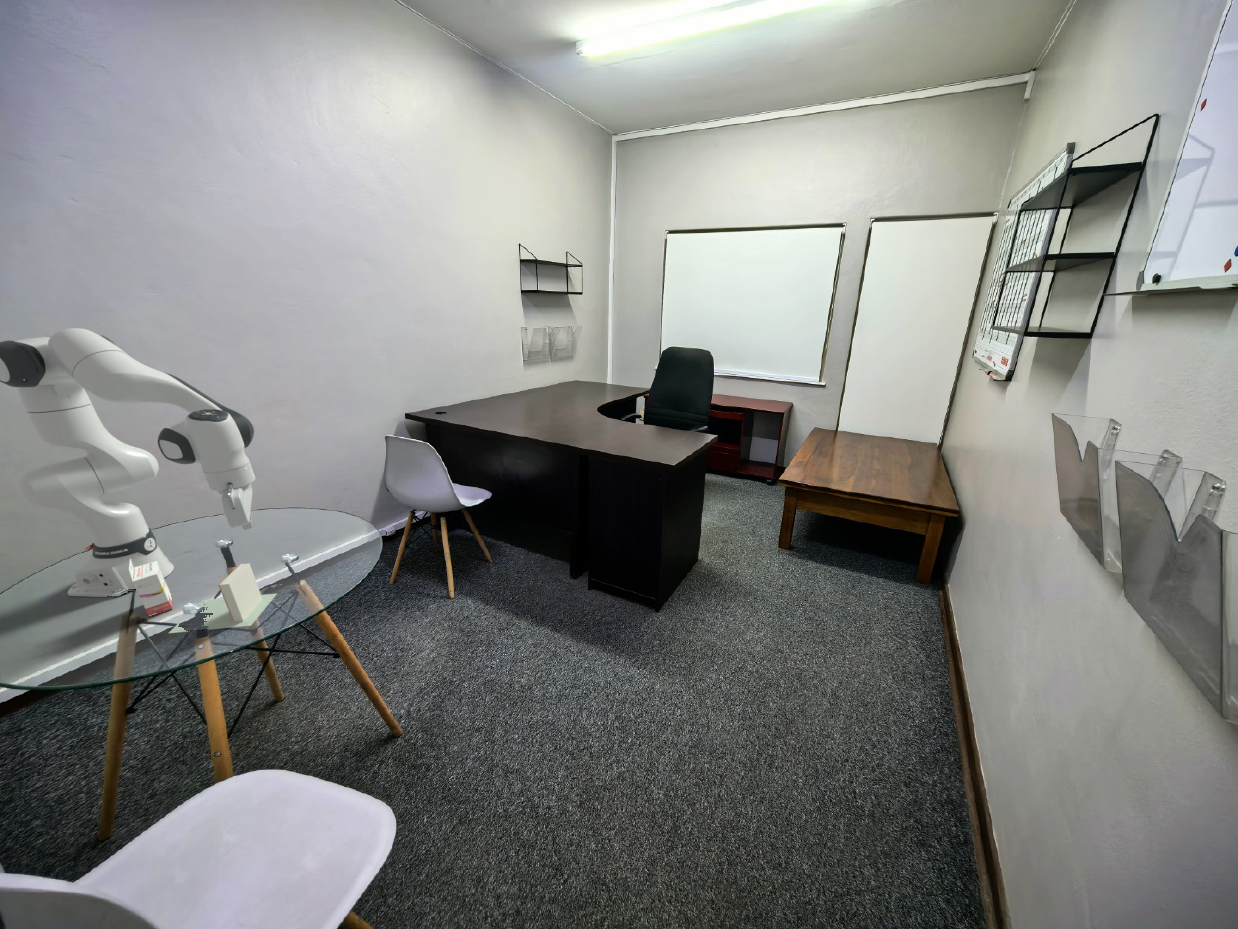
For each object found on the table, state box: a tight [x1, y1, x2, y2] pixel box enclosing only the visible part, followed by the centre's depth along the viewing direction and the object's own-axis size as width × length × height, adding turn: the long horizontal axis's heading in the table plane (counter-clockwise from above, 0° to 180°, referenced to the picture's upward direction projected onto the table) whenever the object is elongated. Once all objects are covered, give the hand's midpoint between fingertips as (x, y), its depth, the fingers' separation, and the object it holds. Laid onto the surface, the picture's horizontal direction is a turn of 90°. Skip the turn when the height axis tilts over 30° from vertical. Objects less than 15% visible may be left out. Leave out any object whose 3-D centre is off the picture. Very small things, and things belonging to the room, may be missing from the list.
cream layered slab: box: [218, 563, 262, 622], centre depth 121 cm, size 2×9×12 cm, turn 9°
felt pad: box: [168, 593, 278, 634], centre depth 122 cm, size 19×13×1 cm
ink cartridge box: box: [129, 559, 173, 616], centre depth 122 cm, size 9×5×15 cm, turn 45°
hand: (248, 526), depth 114 cm, fingers closed
